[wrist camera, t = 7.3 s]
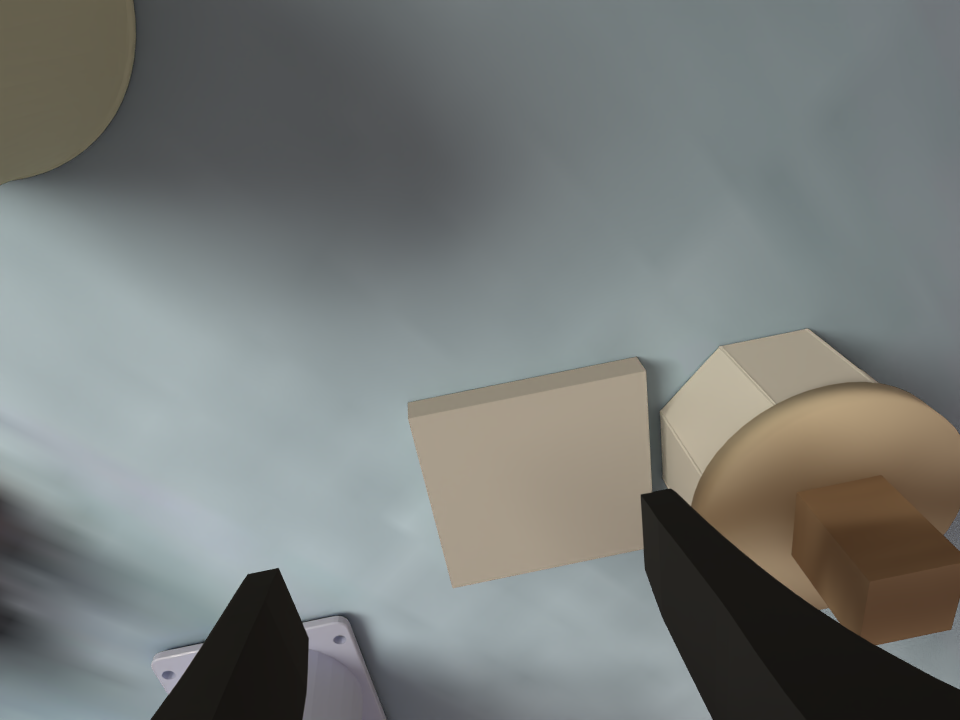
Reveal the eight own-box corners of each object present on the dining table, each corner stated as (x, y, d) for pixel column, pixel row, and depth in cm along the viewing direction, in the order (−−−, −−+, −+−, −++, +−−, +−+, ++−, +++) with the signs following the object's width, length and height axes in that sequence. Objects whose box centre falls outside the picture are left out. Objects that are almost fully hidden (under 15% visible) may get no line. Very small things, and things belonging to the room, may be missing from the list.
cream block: (646, 528, 27) (654, 546, 26) (450, 568, 27) (452, 588, 26) (636, 356, 23) (646, 370, 22) (407, 402, 23) (408, 418, 22)
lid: (923, 562, 23) (1028, 675, 20) (690, 610, 23) (750, 733, 19) (968, 356, 19) (1114, 447, 16) (688, 413, 19) (762, 518, 15)
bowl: (847, 483, 27) (915, 555, 23) (663, 521, 27) (703, 599, 23) (869, 315, 23) (953, 371, 20) (656, 358, 23) (703, 422, 20)
